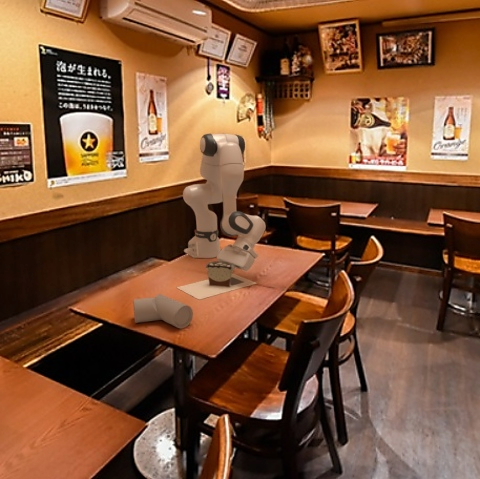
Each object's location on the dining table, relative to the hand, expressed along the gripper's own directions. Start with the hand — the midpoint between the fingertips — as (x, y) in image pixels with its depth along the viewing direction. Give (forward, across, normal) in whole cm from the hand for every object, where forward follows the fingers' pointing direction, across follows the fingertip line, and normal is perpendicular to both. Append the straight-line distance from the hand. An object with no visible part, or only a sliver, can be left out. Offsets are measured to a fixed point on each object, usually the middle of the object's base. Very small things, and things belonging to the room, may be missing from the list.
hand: (225, 273), depth 203 cm
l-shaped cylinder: (+34, +18, -26) cm, 46 cm away
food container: (+5, 0, +2) cm, 5 cm away
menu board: (+7, 0, 0) cm, 7 cm away
